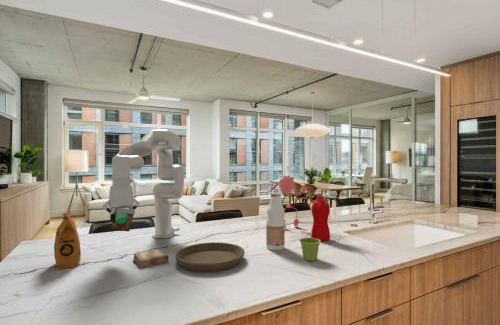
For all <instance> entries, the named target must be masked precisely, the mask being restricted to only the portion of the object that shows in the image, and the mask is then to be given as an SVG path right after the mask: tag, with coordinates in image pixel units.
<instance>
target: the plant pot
mask: <svg viewBox="0 0 500 325" xmlns="http://www.w3.org/2000/svg"><path fill="white" fill-rule="evenodd" d="M299 242H300V246H301V251H302V258H303V261H306V262H307V261H310V262H315V261H317V259H318V255H319V249H320V248H319V246H320V245H321V244H320V243H321V241H320V240H319V239H316V238H311V237H302V238H300V239H299Z"/></svg>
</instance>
